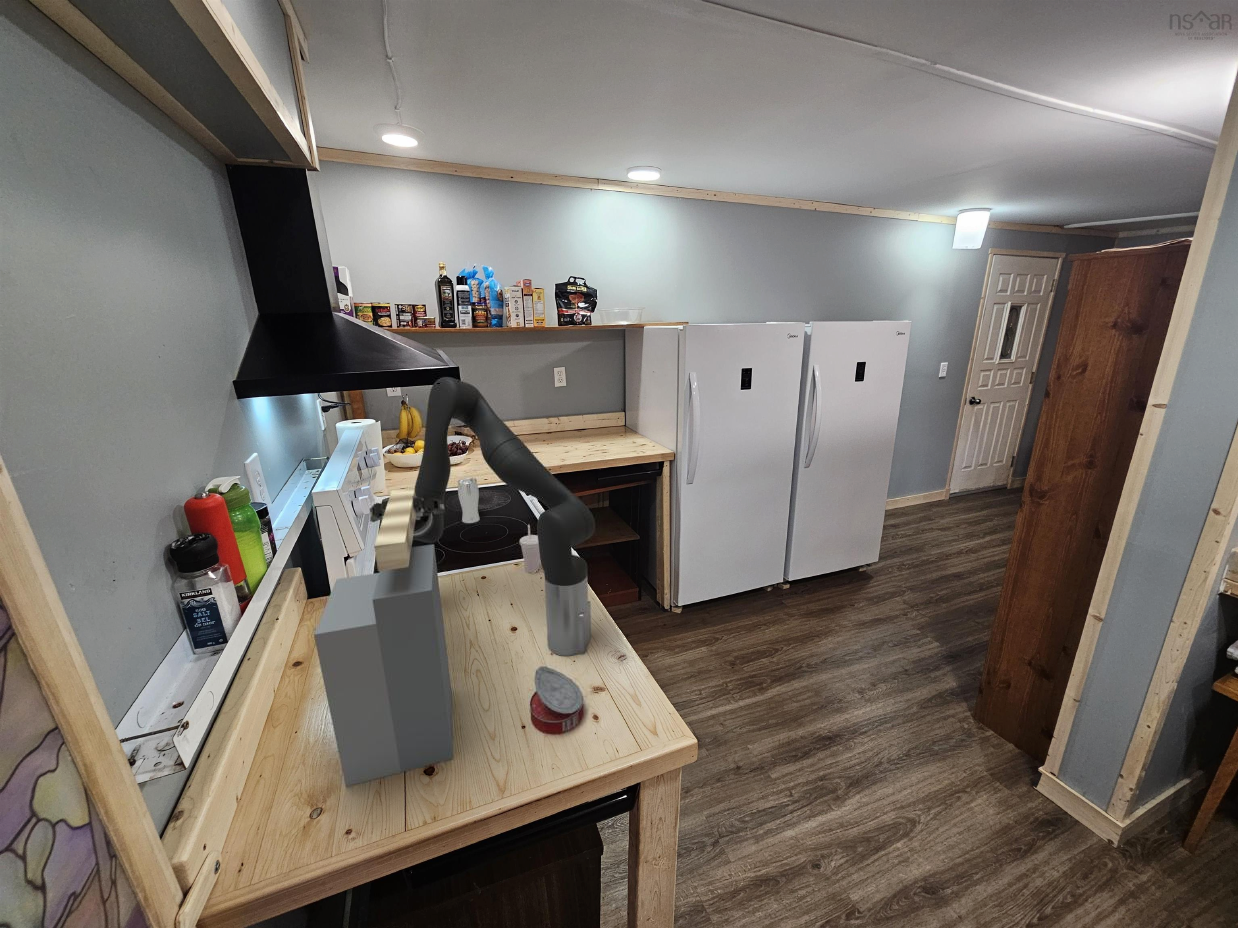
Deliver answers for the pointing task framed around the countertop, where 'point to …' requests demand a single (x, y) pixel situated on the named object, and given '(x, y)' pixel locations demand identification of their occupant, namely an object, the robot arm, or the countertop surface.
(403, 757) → the block
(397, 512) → the birch bar
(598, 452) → the countertop surface
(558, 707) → the canned food
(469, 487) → the beer glass
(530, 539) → the smoothie
